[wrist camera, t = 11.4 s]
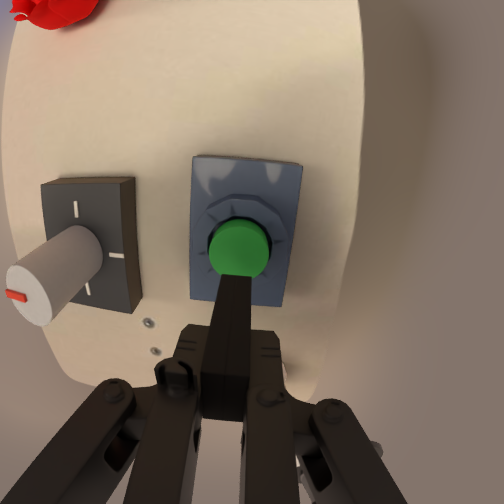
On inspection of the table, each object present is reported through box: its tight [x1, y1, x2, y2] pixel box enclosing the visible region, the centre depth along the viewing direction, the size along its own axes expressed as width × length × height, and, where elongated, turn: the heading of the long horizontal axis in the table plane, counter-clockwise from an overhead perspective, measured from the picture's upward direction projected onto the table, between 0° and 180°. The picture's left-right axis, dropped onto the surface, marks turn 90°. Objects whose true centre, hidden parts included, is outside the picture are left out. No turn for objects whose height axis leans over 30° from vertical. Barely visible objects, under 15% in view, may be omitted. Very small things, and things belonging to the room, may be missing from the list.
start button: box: [209, 219, 269, 278], centre depth 19 cm, size 4×4×2 cm
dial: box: [5, 225, 103, 326], centre depth 17 cm, size 5×5×8 cm
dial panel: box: [41, 177, 142, 314], centre depth 22 cm, size 12×9×3 cm
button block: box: [190, 155, 303, 307], centre depth 21 cm, size 12×8×4 cm, turn 175°
